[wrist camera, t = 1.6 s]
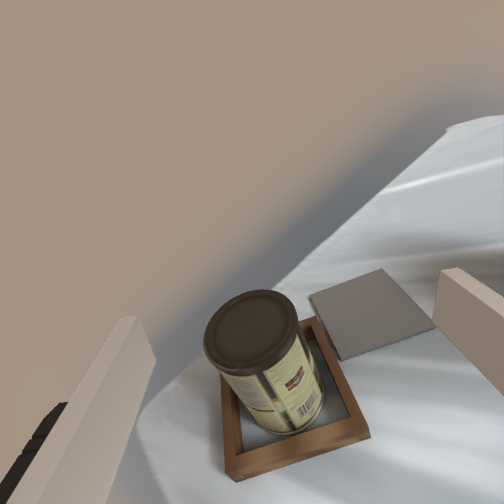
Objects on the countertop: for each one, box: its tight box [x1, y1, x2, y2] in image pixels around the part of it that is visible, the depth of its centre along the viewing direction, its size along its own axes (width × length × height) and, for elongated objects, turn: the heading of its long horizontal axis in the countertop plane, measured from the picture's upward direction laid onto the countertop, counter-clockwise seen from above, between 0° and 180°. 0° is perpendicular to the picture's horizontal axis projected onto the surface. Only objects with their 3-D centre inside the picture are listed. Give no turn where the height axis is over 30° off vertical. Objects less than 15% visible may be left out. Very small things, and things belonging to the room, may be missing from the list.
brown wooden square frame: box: [220, 316, 371, 482], centre depth 35 cm, size 15×15×3 cm
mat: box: [310, 268, 436, 361], centre depth 42 cm, size 13×13×1 cm
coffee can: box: [203, 290, 324, 436], centre depth 32 cm, size 10×10×14 cm
